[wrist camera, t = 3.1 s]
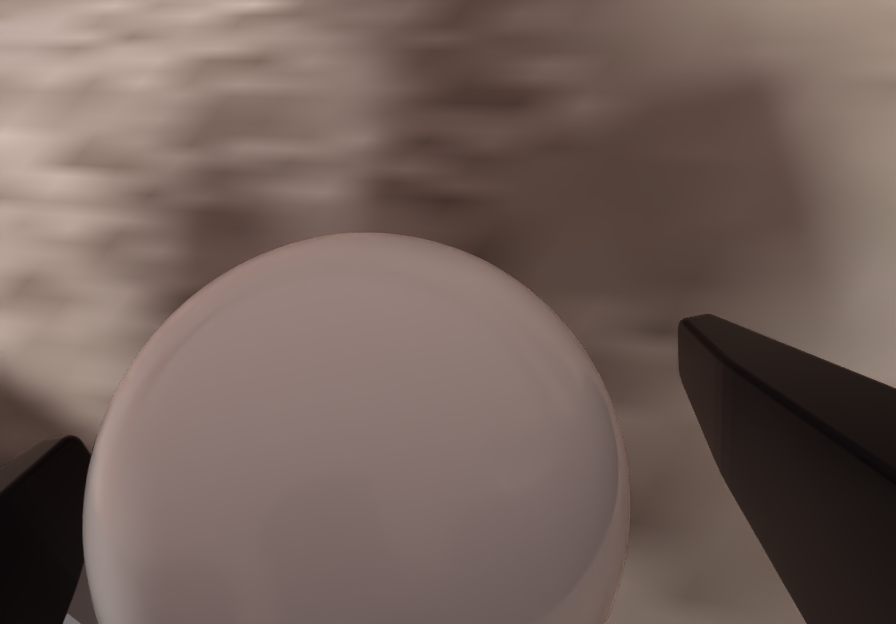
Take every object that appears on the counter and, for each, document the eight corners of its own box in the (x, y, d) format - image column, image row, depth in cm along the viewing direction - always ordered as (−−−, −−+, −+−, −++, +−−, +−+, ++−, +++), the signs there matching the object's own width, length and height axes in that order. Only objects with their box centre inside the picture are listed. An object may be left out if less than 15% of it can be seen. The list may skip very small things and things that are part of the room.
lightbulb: (622, 434, 15) (849, 342, 5) (491, 675, 14) (394, 1272, 4) (407, 310, 17) (205, 26, 6) (275, 521, 16) (-246, 619, 5)
